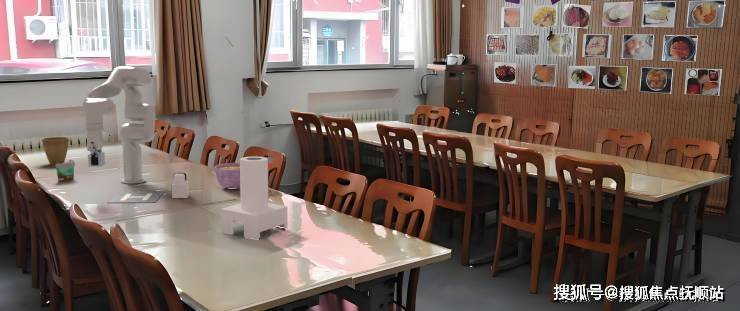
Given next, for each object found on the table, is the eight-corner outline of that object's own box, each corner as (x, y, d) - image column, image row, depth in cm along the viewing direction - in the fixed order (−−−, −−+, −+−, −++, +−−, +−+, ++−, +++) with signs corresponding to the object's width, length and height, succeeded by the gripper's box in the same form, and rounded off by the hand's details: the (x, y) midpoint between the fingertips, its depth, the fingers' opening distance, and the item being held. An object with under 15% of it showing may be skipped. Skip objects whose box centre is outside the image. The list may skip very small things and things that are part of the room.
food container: (66, 182, 351) (65, 164, 349) (56, 182, 352) (55, 163, 350) (81, 178, 362) (80, 160, 361) (71, 177, 364) (70, 159, 362)
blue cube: (92, 164, 319) (91, 151, 318) (105, 163, 319) (104, 151, 318) (88, 166, 313) (87, 154, 312) (101, 166, 314) (101, 154, 312)
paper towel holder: (256, 241, 254) (255, 164, 249) (221, 233, 264) (219, 159, 259) (287, 230, 270) (287, 158, 265) (253, 222, 280) (252, 153, 275)
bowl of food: (260, 186, 350) (260, 165, 348) (238, 193, 332) (237, 171, 330) (230, 182, 359) (229, 161, 357) (206, 189, 341) (205, 167, 339)
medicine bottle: (174, 195, 326) (173, 171, 324) (189, 195, 327) (188, 171, 325) (171, 198, 319) (171, 174, 317) (186, 198, 320) (186, 174, 318)
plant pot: (75, 163, 404) (74, 138, 401) (52, 167, 391) (51, 140, 389) (61, 161, 412) (59, 135, 409) (38, 164, 399) (36, 138, 397)
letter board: (118, 192, 330) (118, 192, 330) (164, 192, 333) (164, 191, 333) (107, 203, 308) (106, 202, 308) (155, 202, 311) (155, 202, 311)
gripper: (91, 124, 321) (93, 160, 324) (80, 129, 304) (83, 167, 307) (107, 124, 321) (109, 160, 325) (97, 129, 305) (99, 167, 308)
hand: (96, 163), depth 316 cm, fingers closed on blue cube, 6 cm apart
